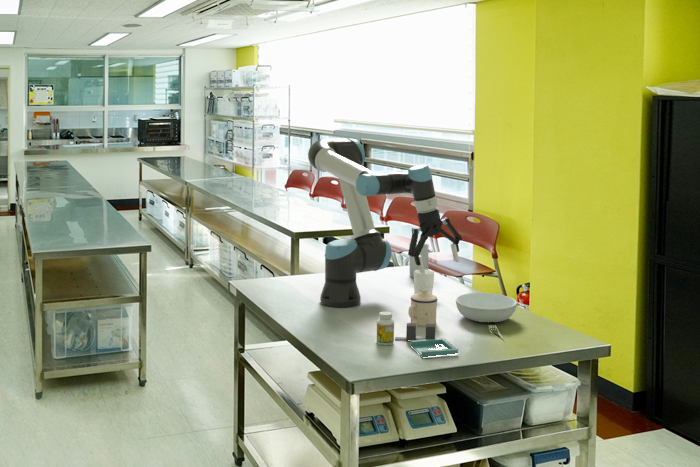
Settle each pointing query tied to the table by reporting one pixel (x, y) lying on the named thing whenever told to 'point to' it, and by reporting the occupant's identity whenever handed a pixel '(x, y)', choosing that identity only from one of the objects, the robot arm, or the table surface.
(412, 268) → the skincare box
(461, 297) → the serving bowl
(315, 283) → the table surface
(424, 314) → the teacup with lid
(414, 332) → the clip posts
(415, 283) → the white cup
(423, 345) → the open-sided tray holder
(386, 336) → the supplement bottle
